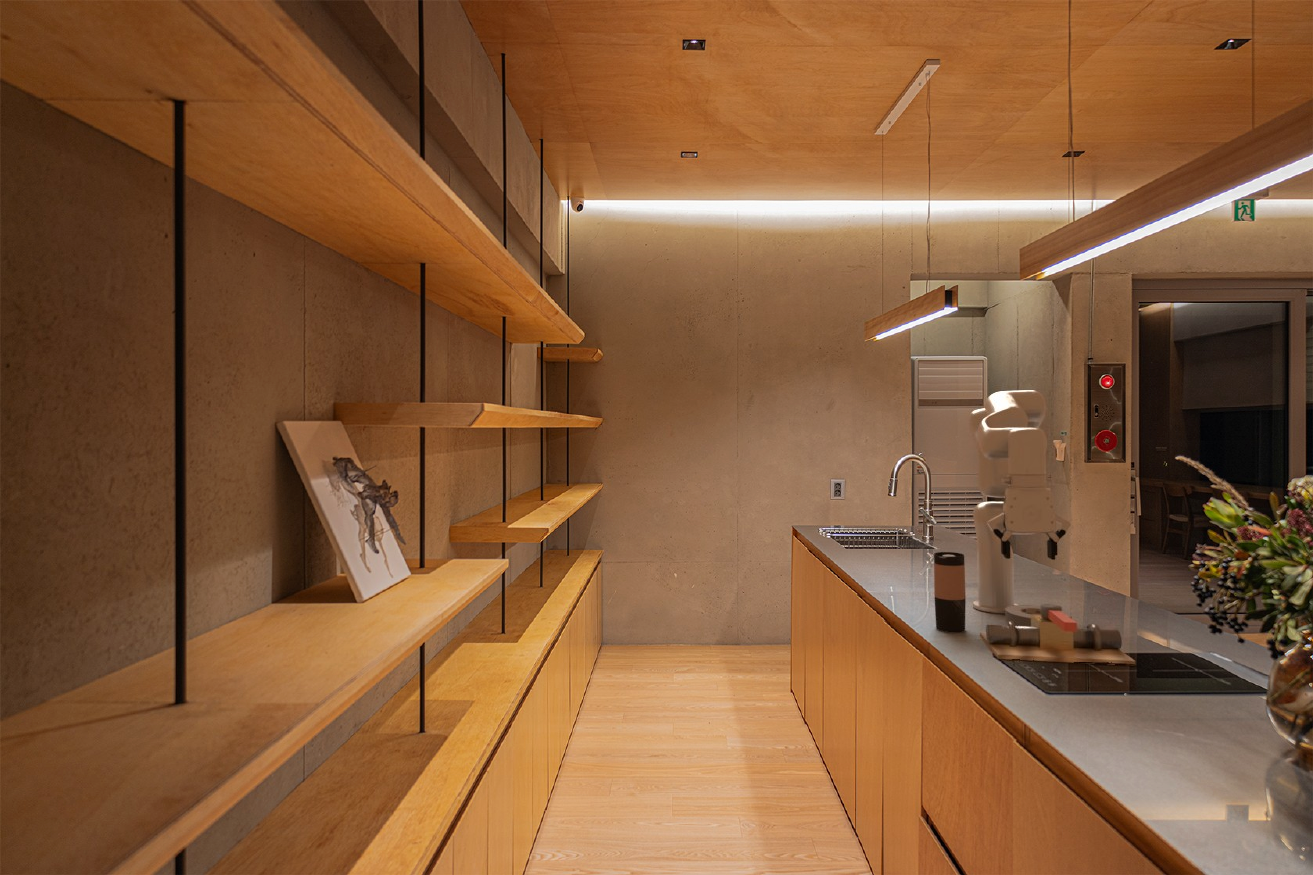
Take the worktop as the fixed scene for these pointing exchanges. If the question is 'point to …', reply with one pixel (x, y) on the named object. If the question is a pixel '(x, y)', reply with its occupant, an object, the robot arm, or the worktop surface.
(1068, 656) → the mount board
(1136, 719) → the worktop surface
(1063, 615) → the lever
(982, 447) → the robot arm
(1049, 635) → the valve
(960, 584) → the travel mug
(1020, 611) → the tape roll
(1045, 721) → the worktop surface
